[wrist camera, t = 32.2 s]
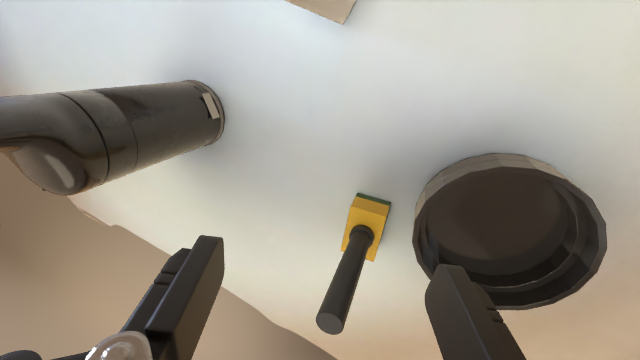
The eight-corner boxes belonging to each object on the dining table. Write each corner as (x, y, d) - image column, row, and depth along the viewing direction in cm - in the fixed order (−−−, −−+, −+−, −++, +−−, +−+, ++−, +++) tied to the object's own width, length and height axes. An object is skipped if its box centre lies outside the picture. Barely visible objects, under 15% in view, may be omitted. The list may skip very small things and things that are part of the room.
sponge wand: (378, 244, 41) (347, 361, 25) (347, 234, 42) (299, 340, 26) (390, 202, 38) (364, 304, 22) (357, 192, 39) (309, 283, 23)
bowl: (456, 295, 39) (460, 324, 35) (388, 195, 37) (383, 212, 33) (610, 253, 31) (640, 284, 27) (535, 121, 29) (554, 132, 25)
